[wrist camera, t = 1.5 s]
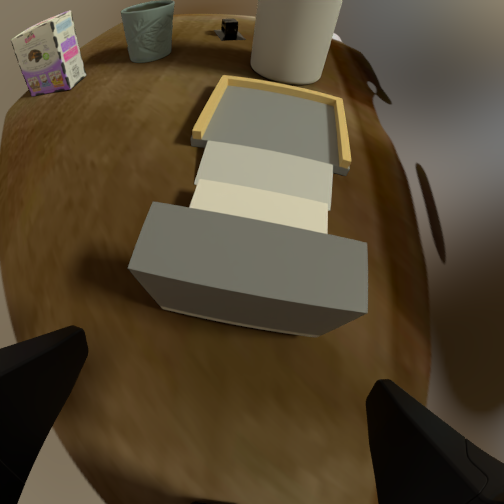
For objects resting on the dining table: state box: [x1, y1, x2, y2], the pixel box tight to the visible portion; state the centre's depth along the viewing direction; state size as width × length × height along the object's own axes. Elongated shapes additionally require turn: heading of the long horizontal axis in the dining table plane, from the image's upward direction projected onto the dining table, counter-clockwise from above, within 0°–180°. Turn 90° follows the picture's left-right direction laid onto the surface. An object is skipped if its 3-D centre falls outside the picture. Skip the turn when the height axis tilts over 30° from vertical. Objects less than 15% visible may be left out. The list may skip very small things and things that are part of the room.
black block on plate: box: [214, 19, 246, 41], centre depth 46 cm, size 12×7×5 cm, turn 17°
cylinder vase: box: [251, 0, 343, 85], centre depth 29 cm, size 12×12×25 cm
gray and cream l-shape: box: [128, 179, 368, 337], centre depth 19 cm, size 12×12×10 cm
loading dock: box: [191, 75, 351, 211], centre depth 30 cm, size 20×18×3 cm
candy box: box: [11, 10, 86, 96], centre depth 28 cm, size 14×6×16 cm, turn 79°
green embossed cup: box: [121, 0, 174, 63], centre depth 35 cm, size 10×10×12 cm
